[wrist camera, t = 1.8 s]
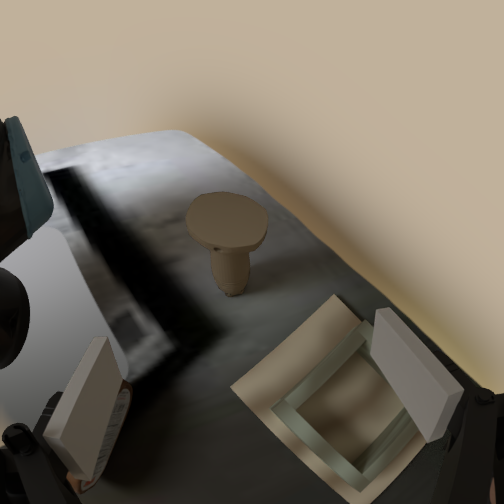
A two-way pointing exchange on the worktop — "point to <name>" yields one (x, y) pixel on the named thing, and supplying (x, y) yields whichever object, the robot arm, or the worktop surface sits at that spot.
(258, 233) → the handle
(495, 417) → the robot arm
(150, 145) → the worktop surface
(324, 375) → the socket board
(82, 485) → the tin
